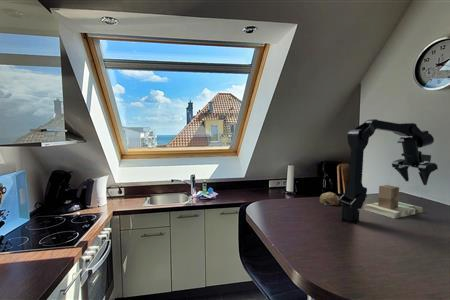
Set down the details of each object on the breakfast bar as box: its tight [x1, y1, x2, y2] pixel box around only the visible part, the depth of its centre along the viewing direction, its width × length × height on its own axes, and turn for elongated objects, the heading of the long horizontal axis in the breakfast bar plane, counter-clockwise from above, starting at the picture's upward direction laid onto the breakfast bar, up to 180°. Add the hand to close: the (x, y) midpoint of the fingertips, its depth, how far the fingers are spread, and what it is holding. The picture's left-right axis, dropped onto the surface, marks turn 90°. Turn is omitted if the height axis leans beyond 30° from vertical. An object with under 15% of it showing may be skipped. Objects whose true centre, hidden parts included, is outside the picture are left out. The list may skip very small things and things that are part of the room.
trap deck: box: [363, 201, 424, 219], centre depth 134 cm, size 22×15×2 cm
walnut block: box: [377, 184, 400, 209], centre depth 131 cm, size 6×6×10 cm
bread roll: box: [319, 191, 340, 206], centre depth 147 cm, size 10×10×8 cm
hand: (416, 183), depth 125 cm, fingers open, 9 cm apart
